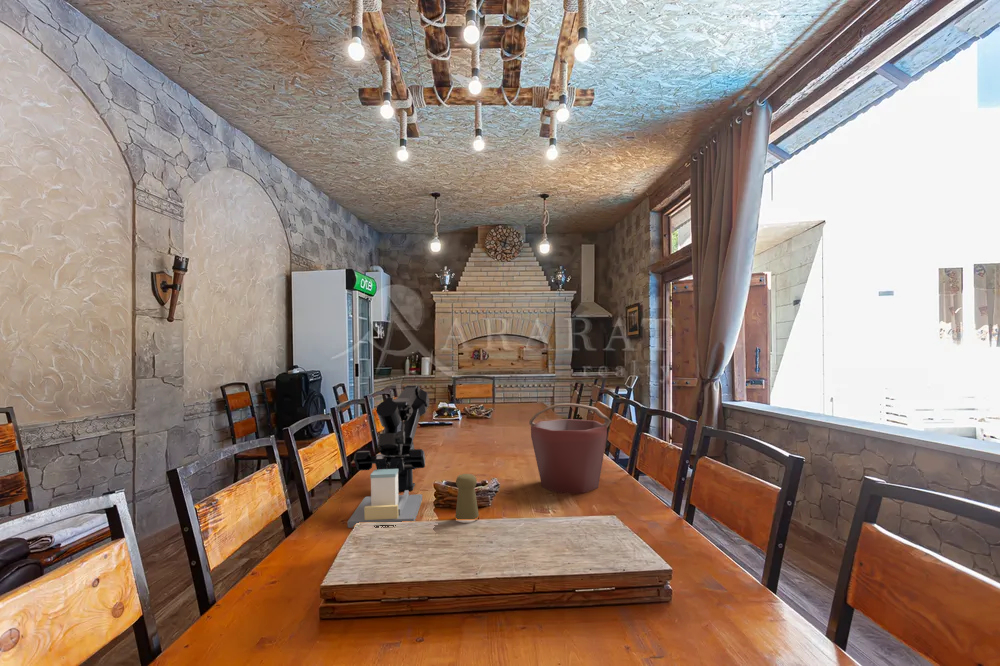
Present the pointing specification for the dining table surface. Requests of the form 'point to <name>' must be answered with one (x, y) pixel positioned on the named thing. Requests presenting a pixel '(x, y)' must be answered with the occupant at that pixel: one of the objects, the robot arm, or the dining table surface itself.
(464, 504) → the olive green pawn
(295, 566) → the dining table surface
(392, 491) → the white teal-topped box
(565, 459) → the bucket
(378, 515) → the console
